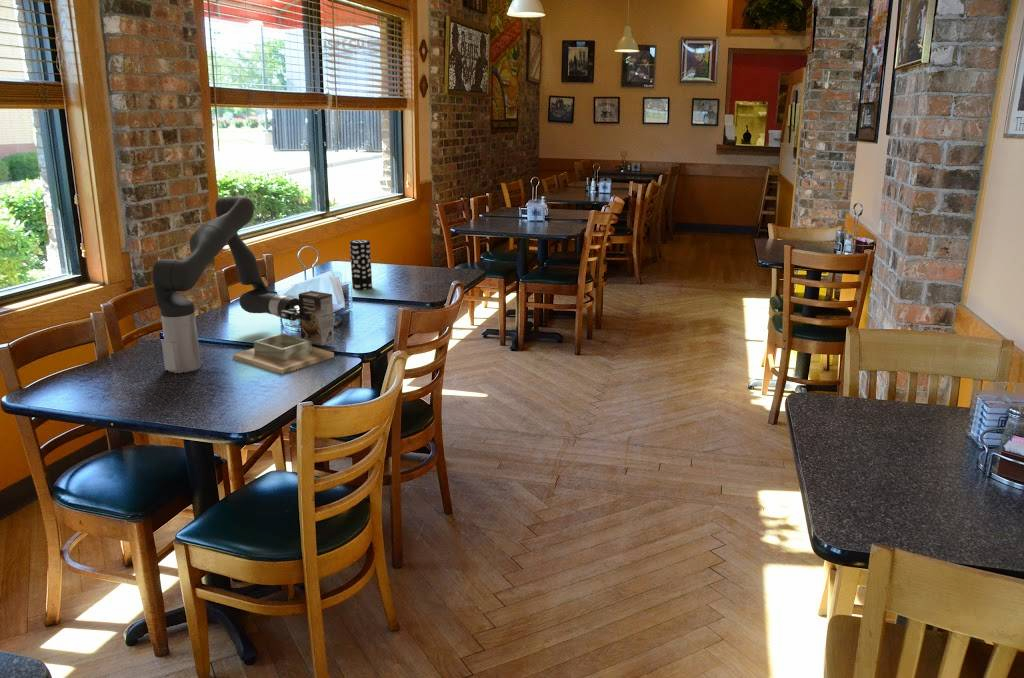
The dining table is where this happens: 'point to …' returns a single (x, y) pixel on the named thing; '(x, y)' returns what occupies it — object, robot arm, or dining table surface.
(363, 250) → the white-spotted black cylinder
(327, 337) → the coffee box
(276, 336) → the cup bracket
